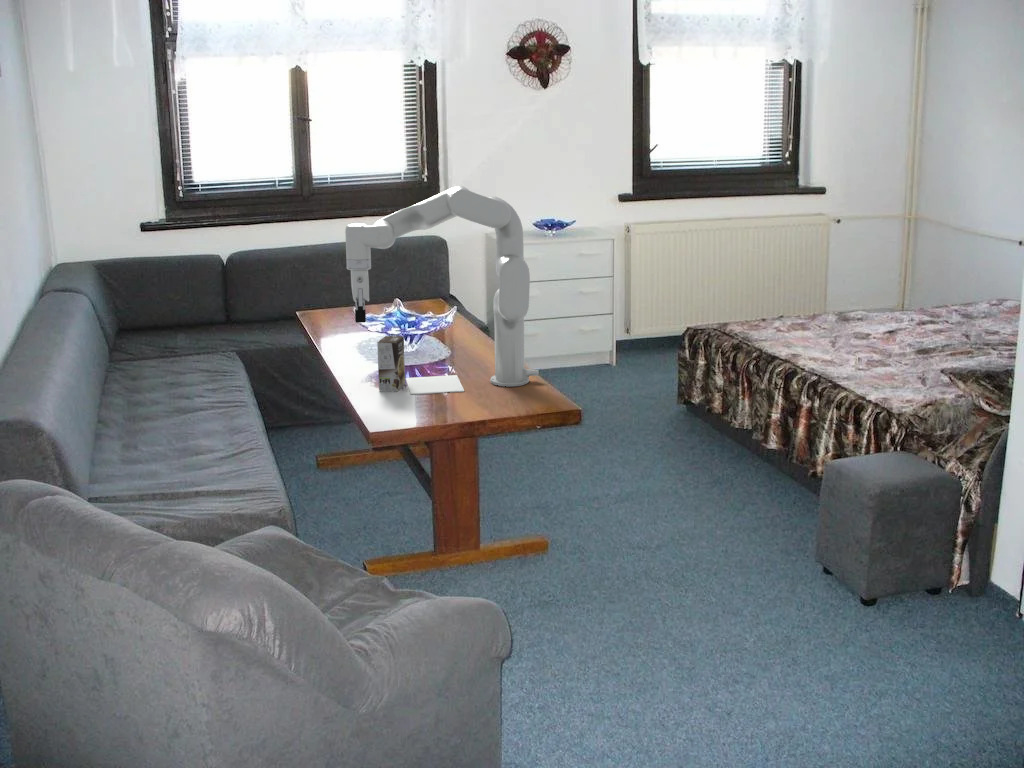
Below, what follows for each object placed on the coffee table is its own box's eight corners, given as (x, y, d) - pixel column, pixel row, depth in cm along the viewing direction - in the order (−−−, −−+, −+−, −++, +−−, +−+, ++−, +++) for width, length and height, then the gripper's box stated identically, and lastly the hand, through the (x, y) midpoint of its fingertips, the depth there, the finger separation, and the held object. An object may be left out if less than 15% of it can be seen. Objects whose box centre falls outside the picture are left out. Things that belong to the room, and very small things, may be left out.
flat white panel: (456, 376, 367) (456, 375, 367) (464, 391, 350) (464, 390, 350) (405, 379, 365) (405, 377, 364) (410, 394, 348) (410, 393, 348)
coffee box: (397, 392, 350) (396, 342, 346) (378, 391, 352) (376, 341, 347) (406, 384, 359) (404, 335, 354) (387, 383, 360) (385, 335, 356)
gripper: (372, 268, 336) (374, 327, 341) (369, 259, 350) (371, 316, 355) (347, 268, 335) (349, 327, 340) (345, 260, 349) (347, 317, 354)
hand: (360, 321), depth 347 cm, fingers closed
